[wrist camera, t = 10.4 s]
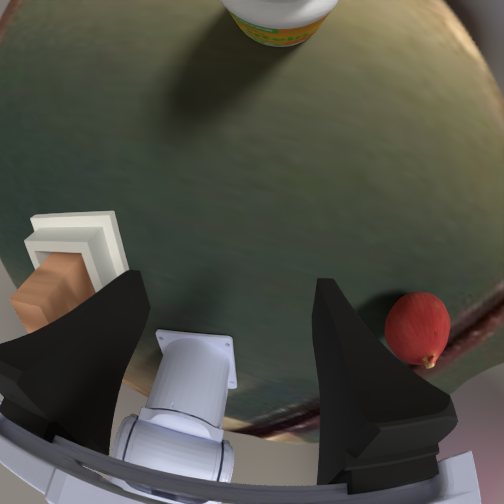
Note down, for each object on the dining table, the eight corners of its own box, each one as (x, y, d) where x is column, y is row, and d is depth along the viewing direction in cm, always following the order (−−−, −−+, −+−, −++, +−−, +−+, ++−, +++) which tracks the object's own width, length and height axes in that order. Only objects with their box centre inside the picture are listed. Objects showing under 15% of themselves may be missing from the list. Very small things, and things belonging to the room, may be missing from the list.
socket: (140, 304, 27) (127, 328, 24) (65, 295, 28) (51, 314, 25) (114, 210, 22) (94, 230, 19) (35, 214, 23) (14, 231, 20)
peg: (102, 283, 25) (61, 345, 18) (71, 280, 25) (30, 335, 19) (90, 246, 23) (39, 306, 16) (59, 245, 23) (9, 299, 17)
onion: (443, 287, 23) (477, 351, 16) (404, 327, 26) (426, 393, 19) (405, 262, 22) (441, 332, 15) (363, 308, 25) (382, 381, 18)
